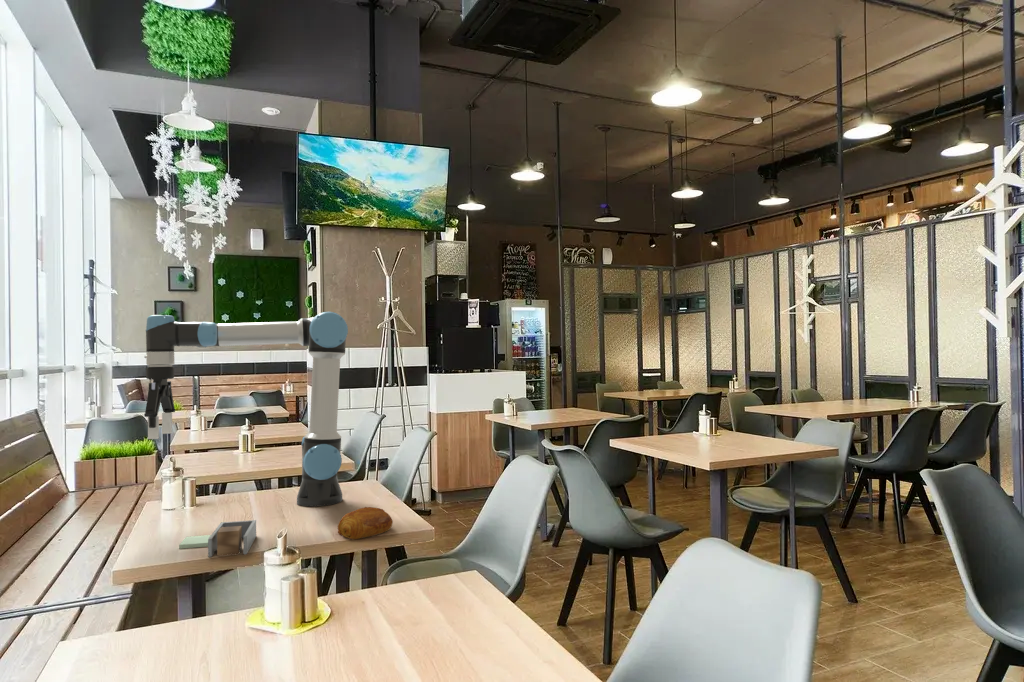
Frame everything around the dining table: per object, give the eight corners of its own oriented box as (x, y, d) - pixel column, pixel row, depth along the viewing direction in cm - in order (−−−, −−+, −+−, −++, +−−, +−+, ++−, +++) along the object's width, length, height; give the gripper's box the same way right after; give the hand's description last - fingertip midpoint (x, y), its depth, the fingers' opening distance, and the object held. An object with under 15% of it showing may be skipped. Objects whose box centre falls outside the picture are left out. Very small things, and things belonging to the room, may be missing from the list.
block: (241, 548, 170) (241, 525, 170) (238, 554, 165) (238, 530, 165) (221, 550, 168) (221, 527, 168) (217, 556, 163) (217, 532, 164)
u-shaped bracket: (256, 536, 181) (256, 520, 181) (246, 553, 165) (246, 536, 165) (221, 538, 179) (221, 522, 179) (208, 557, 163) (208, 539, 163)
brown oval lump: (400, 539, 185) (403, 510, 186) (353, 543, 174) (357, 513, 174) (371, 529, 195) (374, 502, 196) (325, 532, 184) (328, 503, 184)
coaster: (218, 538, 180) (218, 534, 180) (212, 546, 172) (212, 542, 172) (186, 540, 178) (186, 536, 178) (179, 548, 170) (179, 544, 170)
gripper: (159, 365, 208) (159, 432, 208) (132, 366, 184) (132, 441, 183) (184, 365, 210) (185, 431, 209) (161, 366, 185) (161, 440, 185)
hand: (160, 436), depth 196 cm, fingers open, 13 cm apart
